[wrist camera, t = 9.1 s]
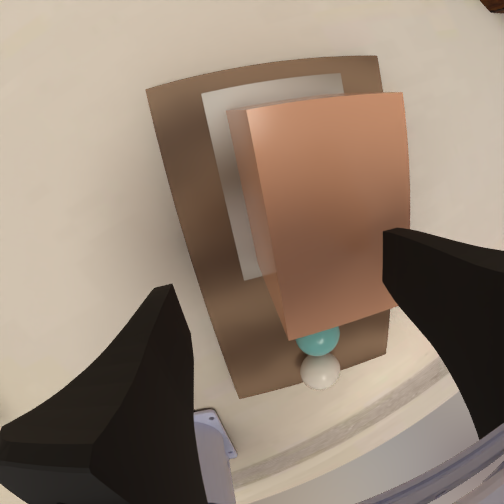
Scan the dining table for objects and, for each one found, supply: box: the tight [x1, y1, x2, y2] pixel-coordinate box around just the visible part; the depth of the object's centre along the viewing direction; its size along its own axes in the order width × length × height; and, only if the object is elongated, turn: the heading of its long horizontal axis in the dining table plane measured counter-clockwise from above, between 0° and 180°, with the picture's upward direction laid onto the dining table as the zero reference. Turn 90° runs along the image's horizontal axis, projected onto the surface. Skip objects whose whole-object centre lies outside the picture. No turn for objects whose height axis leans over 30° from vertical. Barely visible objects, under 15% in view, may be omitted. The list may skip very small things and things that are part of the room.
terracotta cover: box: [226, 92, 410, 341], centre depth 14 cm, size 9×6×7 cm, turn 11°
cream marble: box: [300, 353, 340, 390], centre depth 22 cm, size 3×3×3 cm
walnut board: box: [146, 56, 390, 399], centre depth 20 cm, size 23×13×1 cm, turn 11°
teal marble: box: [295, 326, 340, 356], centre depth 21 cm, size 3×3×3 cm
